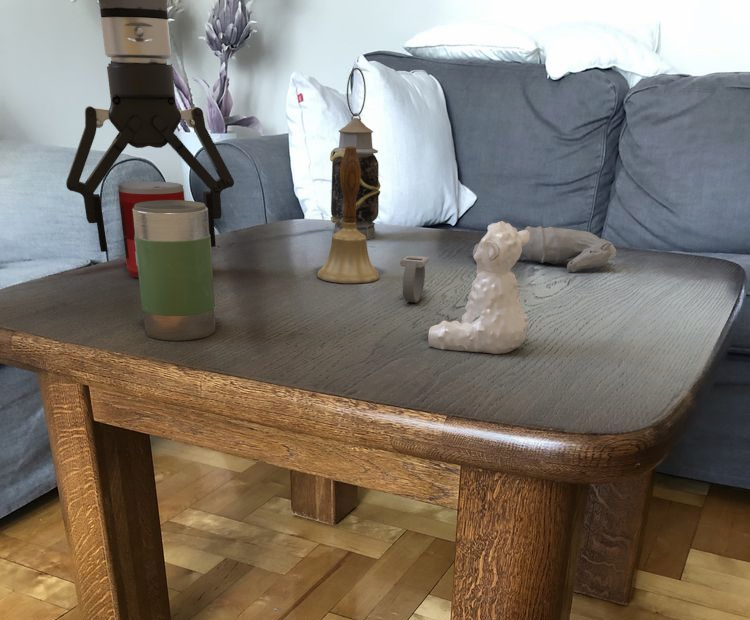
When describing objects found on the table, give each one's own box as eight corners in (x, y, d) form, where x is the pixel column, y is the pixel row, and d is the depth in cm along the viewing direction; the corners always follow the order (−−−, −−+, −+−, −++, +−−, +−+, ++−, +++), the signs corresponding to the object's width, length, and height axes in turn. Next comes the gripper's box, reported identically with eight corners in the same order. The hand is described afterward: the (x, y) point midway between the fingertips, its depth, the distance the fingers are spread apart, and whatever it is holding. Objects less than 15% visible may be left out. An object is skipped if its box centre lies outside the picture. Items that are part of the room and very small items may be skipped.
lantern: (344, 230, 141) (345, 67, 130) (387, 235, 139) (392, 68, 127) (321, 238, 134) (321, 66, 123) (366, 243, 131) (370, 67, 120)
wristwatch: (407, 294, 100) (409, 252, 98) (429, 296, 100) (431, 254, 98) (395, 306, 95) (396, 262, 93) (418, 308, 94) (420, 264, 92)
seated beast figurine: (475, 328, 87) (485, 210, 82) (547, 344, 83) (562, 220, 77) (422, 346, 81) (429, 219, 75) (497, 365, 76) (510, 231, 71)
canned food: (199, 276, 106) (193, 186, 101) (139, 282, 102) (130, 189, 97) (176, 265, 112) (169, 180, 107) (119, 271, 108) (109, 182, 103)
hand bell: (391, 276, 109) (396, 147, 102) (354, 287, 103) (356, 150, 96) (343, 268, 114) (343, 143, 106) (304, 277, 108) (302, 145, 100)
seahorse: (479, 264, 113) (624, 245, 112) (467, 222, 120) (603, 204, 120) (479, 296, 116) (620, 278, 116) (468, 253, 124) (600, 236, 124)
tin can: (129, 331, 83) (115, 204, 77) (184, 318, 88) (174, 197, 82) (176, 345, 79) (164, 212, 73) (231, 330, 84) (224, 205, 79)
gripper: (24, 58, 89) (56, 257, 99) (250, 63, 97) (259, 248, 106) (26, 59, 95) (56, 246, 105) (238, 63, 103) (247, 238, 113)
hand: (158, 247), depth 106 cm, fingers open, 13 cm apart
